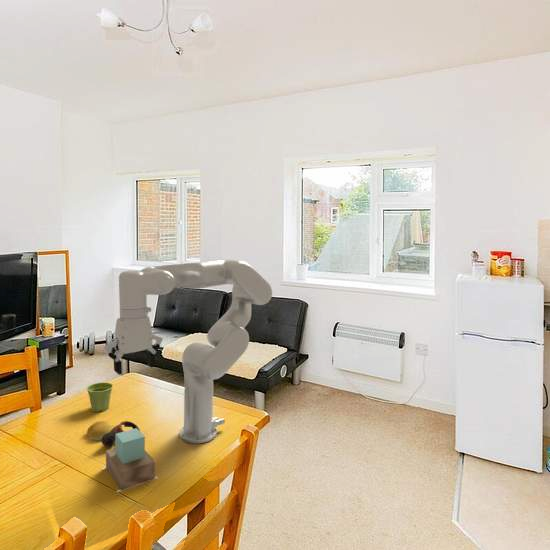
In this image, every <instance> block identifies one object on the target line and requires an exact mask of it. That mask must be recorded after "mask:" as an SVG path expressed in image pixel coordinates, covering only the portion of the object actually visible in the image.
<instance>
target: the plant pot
mask: <svg viewBox="0 0 550 550" xmlns="http://www.w3.org/2000/svg"><path fill="white" fill-rule="evenodd" d="M113 388H114V384H113V383H112V382H96V383H93V384H89V385H88V386H87V387H86V391H87V394H88V397H89V403H90V408H91V411H92V412H94V413H95V412H96V413H99V412H101V411H102V412H105V411H107V410H108V409H109V407H110V402H111V395H112V391H113Z"/></svg>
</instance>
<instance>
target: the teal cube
mask: <svg viewBox="0 0 550 550" xmlns="http://www.w3.org/2000/svg"><path fill="white" fill-rule="evenodd" d="M139 430H140V429H139ZM139 430H138V429H137V428H135V429H133V428H132V429H128V430H123V431H124V432H120V433H117V434H115V441H114V443H115V446H114V448H115V454H116V456H117V457H118V459H119V460H120V461H121V463H122V464H125V463H128V462H131V461H135V460H138V459H141V458H144V457H145V451H146V449H145V448H146V445H145V444H146V441H145V440H146V439H145V438H146V436H145V435H144V434H143V433H142V431H141V430H140V431H139Z"/></svg>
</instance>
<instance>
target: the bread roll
mask: <svg viewBox="0 0 550 550" xmlns="http://www.w3.org/2000/svg"><path fill="white" fill-rule="evenodd" d="M114 427H115V426H113V425H112V424H111V423H110V422H108V421H107V420H106V421H105V420H99V421H96V422H94V423H92V424H91V425H89V427H88V428H87V431H86V434H87V435H88V436H89V439H90V440H92V441H102V437H103V436H104V435H105V434H107V433H108V432H111V430H112V429H113V428H114Z"/></svg>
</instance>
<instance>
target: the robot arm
mask: <svg viewBox="0 0 550 550" xmlns="http://www.w3.org/2000/svg"><path fill="white" fill-rule="evenodd" d="M223 285H232V289H231V292H232V293H231V295H232V299H231V300H232V301H231V305H230V307H229V308H228V310H227V311H226V312H225V313H224V314H222V316H221V317H220V318H219V319H218V320H217V321H216V322H215V323H214V324H213V325H212V326H211V328H210V329H209V330H208V332H207V333H206V339H207V342H208V343H209V344H210V345H211V346H210V345H208V344H206V343H202V342H192V343H190V344H188V345H187V346H186V347H185V349H184V350H183V353H182V356H181V357H182V358H181V362H182V369H183V375H184V391H183V392H184V398H183V401H184V402H183V427H181V429H180V430H179V431H178V436H179V439H180V440H182V441H183V442H186V443H190V444H202V443H203V444H204V443H207V442H211V441H212V440H213V439H215V438H216V436H217V433H218V432H217V427H218V426H221V425H225V422H226V420H225V418H224V417H222V418H219V419H218V417H217V416H216V417H213V415H214V414H213V412H214V411H213V408H214V406H213V405H214V380H218V379H220V378H222V377H223V376H224V375H225V374H226V373H227V372H228V371H229V370H230V369H231V368H232V367H233V366H234V365H235V364H236V363H237V362H238V360H239V359H241V357H242V356H243V354H245V352H246V350H247V349H248V346H249V344H250V336H249V332H248V331H247V330H246V329H245V328H246V326H248V324H249V322H250V321H251V318H252V304H253V305H258V306H264V305H265V304H268V303H269V302H270V301H271V299H272V297H273V289H272V286H271V284H270V283H269V282H268V281H267V280H266V279H265V278H264V277H263V276H262V275H261V274H260V273H259V272H258V271H257V270H256V269H255V268H254V267H253V266H251V264H249V263H247V262H246V261H244V260H235V259H216V260H208V261H199V262H187V263H179V264H178V263H177V264H176V263H175V264H167V265H166V264H165V265H164V264H163V265H154V266H148V267H145V268H144V267H143V268H142V269H141V270H127V271H122V272H120V274H119V275H118V293H119V294H118V296H119V299H118V300H119V317H117V318H116V321H115V329H114V340H113V341H111V342H109V343H108V344H106V345H105V346H104V347H103V350H104V352H105V353H106V354H107V356H108V357H110V358H111V359H112V360H113V371H114V372H115V373H116V374H117V375H119V376H120V375H122V374H123V370H122V368H123V367H122V364H123V363H122V361H121V359H122V358H123V357H124V355H125V354H126V355H127V354H131V353H132V354H133V353H137V352H141V351H142V352H143V351H147V353H146V365H147V366H148V367H150V368H154V367H155V366H154V364H155V362H156V361H155V356H156V353H157V351H158V350H159V348H160V346H161V344H162V342H163V338H162V337H161V336H159V335H156V334H153V331H152V330H153V329H152V325H151V323H152V322H151V320H150V316H149V315H148V313H151V312H152V308H151V307H150V306H149V307H148V305H147V304H148V303H147V302H148V300H147V299H148V298H147V295H148V296H149V295H150V296H154V295H155V296H164V295H167V294H169V293H171V292H172V291H173V290H174V288H184V289H193V290H195V289H196V290H197V289H206V288H210V287H216V286H218V287H219V286H223ZM154 340H155V343H153V341H154ZM113 348H114V349H115V352H114V353H113V352H112V349H113ZM214 437H215V438H214Z"/></svg>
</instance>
